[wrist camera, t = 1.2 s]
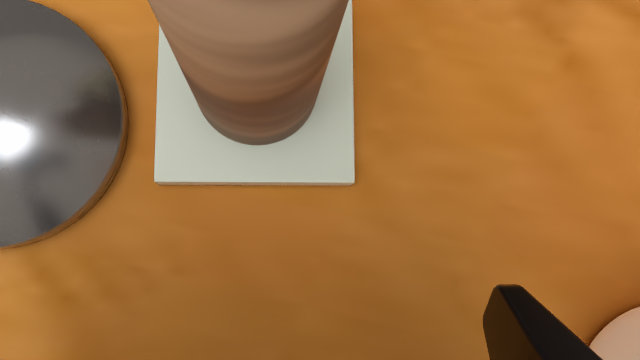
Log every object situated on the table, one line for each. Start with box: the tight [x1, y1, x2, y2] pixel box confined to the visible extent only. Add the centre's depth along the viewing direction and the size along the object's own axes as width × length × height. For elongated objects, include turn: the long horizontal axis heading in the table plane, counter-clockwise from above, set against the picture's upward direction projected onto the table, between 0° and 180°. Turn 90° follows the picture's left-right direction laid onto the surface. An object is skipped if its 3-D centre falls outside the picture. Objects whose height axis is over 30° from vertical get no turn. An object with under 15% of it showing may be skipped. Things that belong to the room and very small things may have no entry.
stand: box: [154, 0, 355, 186], centre depth 23 cm, size 8×8×1 cm
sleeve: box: [148, 0, 349, 145], centre depth 16 cm, size 5×5×13 cm
